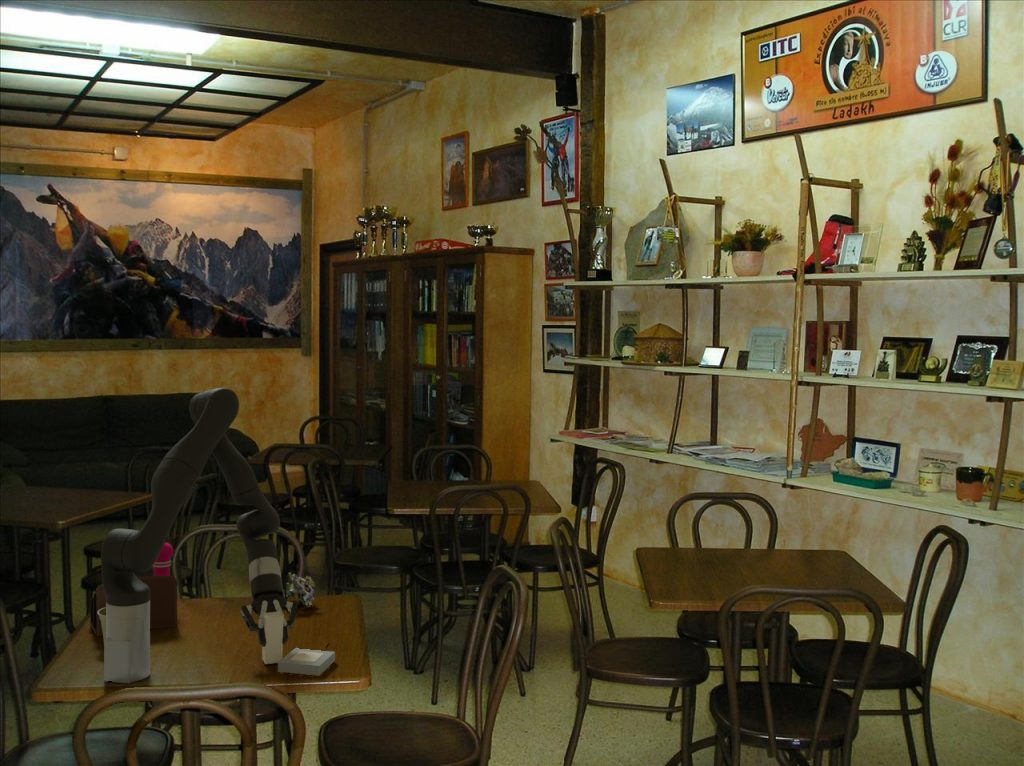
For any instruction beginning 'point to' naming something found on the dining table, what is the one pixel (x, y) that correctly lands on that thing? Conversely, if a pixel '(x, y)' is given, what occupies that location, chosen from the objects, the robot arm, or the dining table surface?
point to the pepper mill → (163, 561)
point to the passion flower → (300, 589)
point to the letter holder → (160, 603)
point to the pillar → (273, 637)
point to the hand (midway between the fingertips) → (274, 643)
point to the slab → (306, 661)
